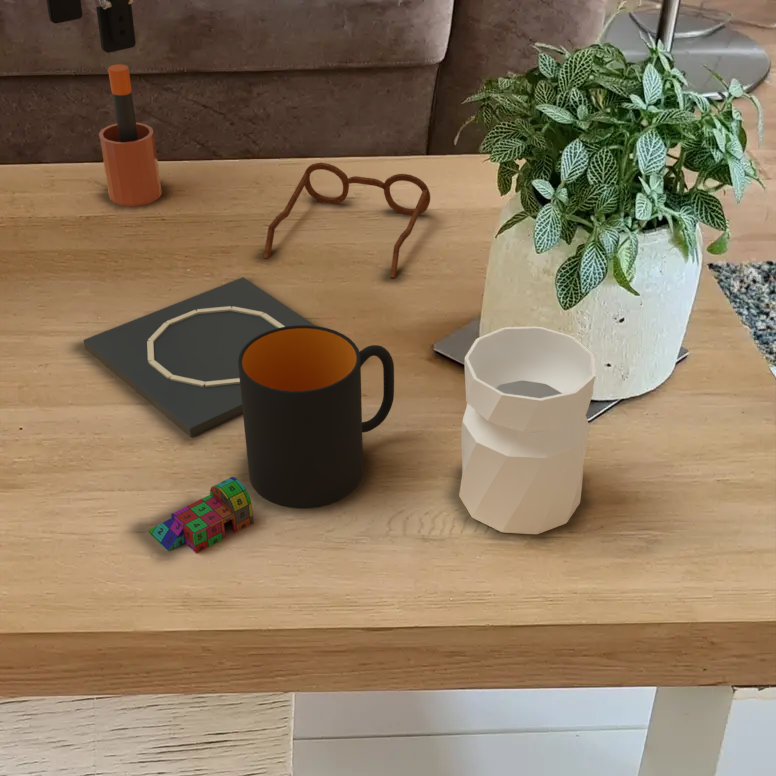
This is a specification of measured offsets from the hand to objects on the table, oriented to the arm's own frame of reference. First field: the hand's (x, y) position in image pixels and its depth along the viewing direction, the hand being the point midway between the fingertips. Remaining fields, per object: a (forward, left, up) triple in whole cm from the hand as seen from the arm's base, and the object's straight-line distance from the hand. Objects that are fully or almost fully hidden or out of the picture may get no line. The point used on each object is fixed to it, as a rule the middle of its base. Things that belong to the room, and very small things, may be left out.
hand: (92, 34), depth 110 cm
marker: (+1, -2, -16) cm, 16 cm away
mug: (-11, -49, -17) cm, 52 cm away
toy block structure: (-22, -48, -17) cm, 56 cm away
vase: (-3, -61, -17) cm, 63 cm away
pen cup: (+1, -2, -17) cm, 17 cm away
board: (-9, -32, -17) cm, 37 cm away
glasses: (+12, -23, -17) cm, 31 cm away
